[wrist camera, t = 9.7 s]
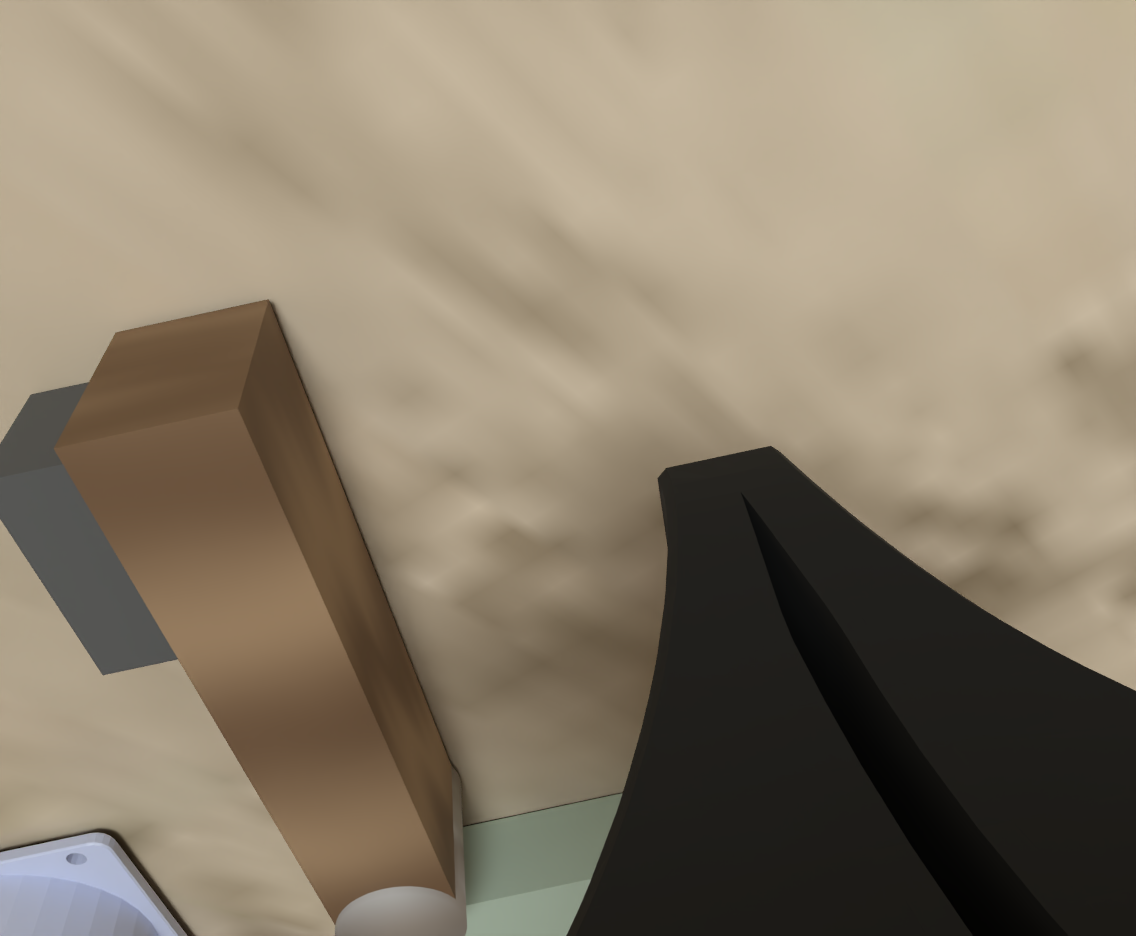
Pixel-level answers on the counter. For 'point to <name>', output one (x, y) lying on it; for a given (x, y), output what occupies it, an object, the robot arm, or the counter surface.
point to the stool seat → (533, 868)
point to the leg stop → (72, 541)
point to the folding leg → (274, 608)
